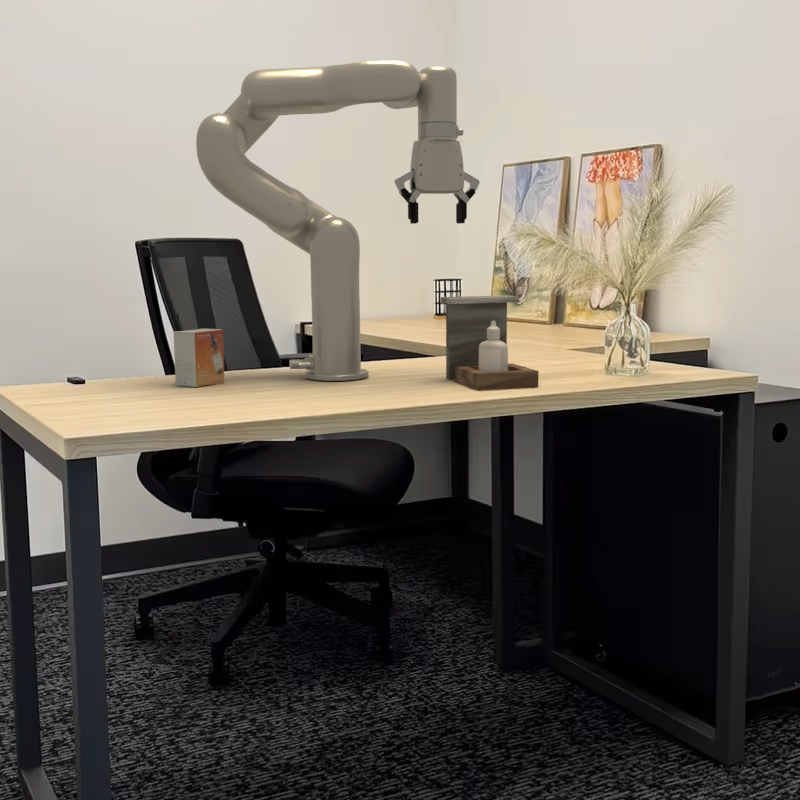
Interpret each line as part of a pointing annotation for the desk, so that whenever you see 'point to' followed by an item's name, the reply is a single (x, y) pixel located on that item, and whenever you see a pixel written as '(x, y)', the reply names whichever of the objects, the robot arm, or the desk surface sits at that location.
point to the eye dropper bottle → (493, 352)
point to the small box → (199, 357)
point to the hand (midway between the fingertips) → (437, 223)
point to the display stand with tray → (465, 336)
